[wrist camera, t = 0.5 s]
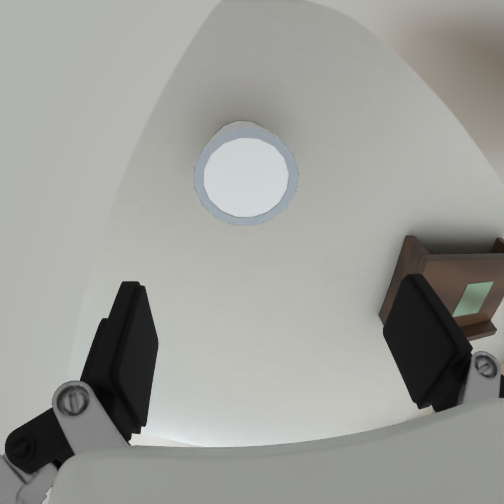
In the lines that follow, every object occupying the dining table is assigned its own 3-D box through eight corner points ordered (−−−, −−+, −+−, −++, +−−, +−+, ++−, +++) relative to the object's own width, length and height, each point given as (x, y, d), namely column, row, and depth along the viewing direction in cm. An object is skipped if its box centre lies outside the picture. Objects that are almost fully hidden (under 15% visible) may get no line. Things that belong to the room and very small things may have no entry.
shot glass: (228, 202, 28) (228, 243, 22) (185, 140, 25) (172, 163, 19) (295, 166, 27) (315, 197, 21) (257, 98, 23) (267, 108, 17)
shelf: (405, 235, 31) (437, 272, 25) (501, 237, 33) (531, 266, 27) (378, 315, 38) (397, 356, 32) (472, 304, 39) (494, 334, 33)
